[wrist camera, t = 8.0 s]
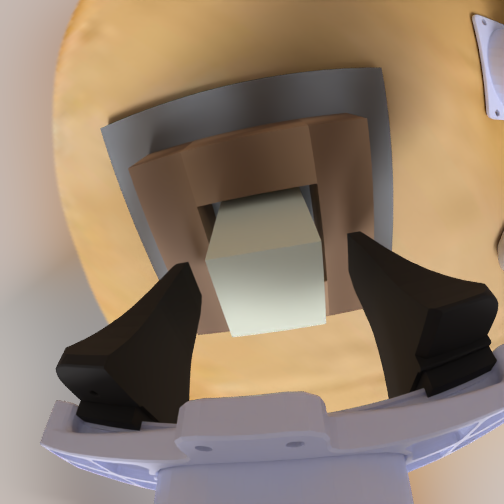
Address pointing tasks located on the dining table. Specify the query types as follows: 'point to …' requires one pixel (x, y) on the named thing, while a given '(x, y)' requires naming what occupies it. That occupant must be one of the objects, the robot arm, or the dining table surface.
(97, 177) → the dining table surface
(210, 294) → the socket
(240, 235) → the peg
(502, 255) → the tube
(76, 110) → the dining table surface
